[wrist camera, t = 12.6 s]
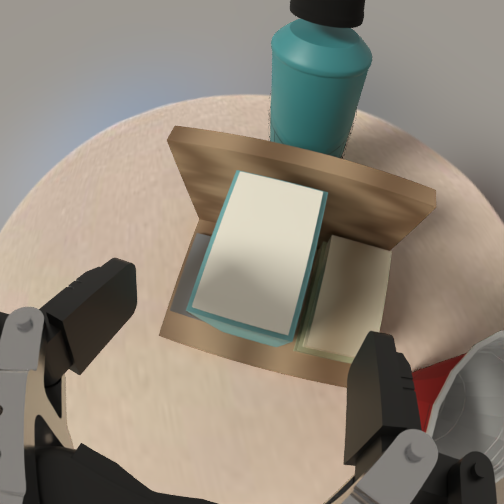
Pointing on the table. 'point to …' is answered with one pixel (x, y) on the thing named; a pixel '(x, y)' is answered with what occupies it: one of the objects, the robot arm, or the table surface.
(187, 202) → the table surface
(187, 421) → the table surface
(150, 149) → the table surface
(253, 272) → the teal book
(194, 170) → the shelf
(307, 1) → the beverage bottle
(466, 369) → the plastic cup
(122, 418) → the table surface
